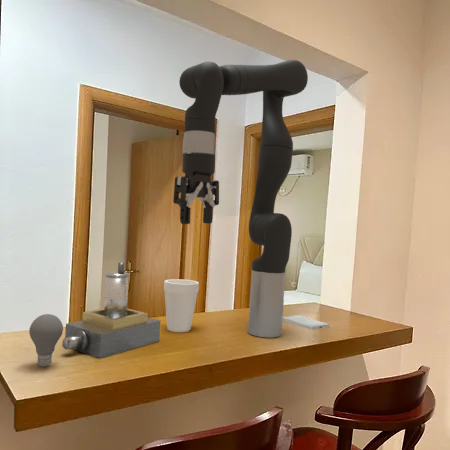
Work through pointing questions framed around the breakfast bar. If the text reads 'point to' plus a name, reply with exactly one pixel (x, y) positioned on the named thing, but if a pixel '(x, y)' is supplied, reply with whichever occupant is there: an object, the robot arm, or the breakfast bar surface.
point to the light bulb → (45, 336)
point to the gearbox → (110, 333)
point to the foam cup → (180, 303)
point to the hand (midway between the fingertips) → (196, 223)
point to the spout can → (116, 293)
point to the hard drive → (305, 322)
